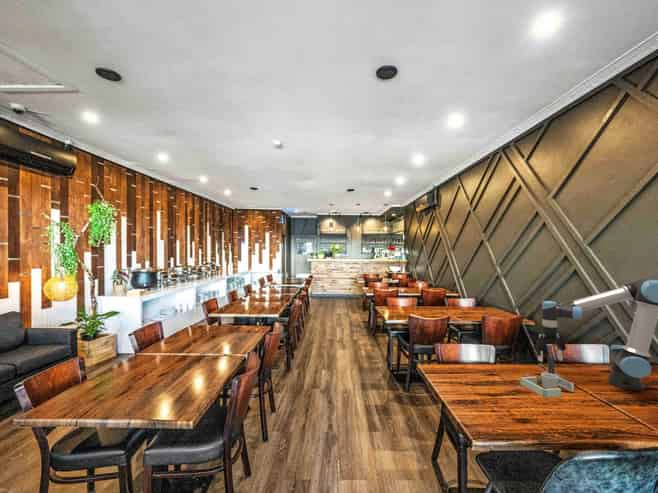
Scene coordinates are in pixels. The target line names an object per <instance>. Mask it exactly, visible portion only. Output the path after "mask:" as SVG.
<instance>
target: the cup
mask: <svg viewBox="0 0 658 493" xmlns="http://www.w3.org/2000/svg"><path fill="white" fill-rule="evenodd" d="M540 377H541V378H542V384H541V385H542V388H543V389H555V388H558V387H561V385H562V383H563V381H562V379H561V378H559V377H558V376H556V375H554V374H551V373H542V372H541V373H540ZM559 379H560V384H558V380H559Z"/></svg>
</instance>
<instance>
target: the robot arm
mask: <svg viewBox="0 0 658 493" xmlns="http://www.w3.org/2000/svg"><path fill="white" fill-rule="evenodd" d="M624 301H635V303H636V304H637V306H636V309H635V314H634V318H633V321H632V324H631V328H630V331H629V334H628V338H627V341H626V344H625V345H623V344H611V345H610V349H609V351H610V366H611V367H610V368H611V369H610V371H609V375H608V377H607V382H608V383H609V384H610V385H611V386H614V387H616V388H620V389H623V390H624V389H625V390H629V391H645V384H644V383H643V382H642V378H646V377H648V376H649V375H650V374H651V373H652V366H651V364H650V363H651V359H652V355H651V354H650V353H649V350H650V347H651V343H652V340H653V337H654V334H655V330H656V326H657V323H658V279H651V278H642V279H638V280H635V281H632V282H629V283H626V284H622V285H621V287H619V288H615V289H611V290H608V291H607V290H606V291H603V292H600V293H596V294H593V295H592V294H591V295H589V296H586V297H582V298H578V299H575V300H572V301H568V302H567V301H566V302H561V303H559V304H558V302H556V301H553V300H543V301H542V302H541V320H542V322H541V324H542V327H541V330H542V334H541V333H538V335H537V336H538V337H537V339H536V342H535V343H534V346H533V349H534V350H536V351H537V352H536V356H537V360H538V362H541V363H542V362H544V361H543V360H544V358H543V355H544V354H543V353H544V351H543V349H544V347H545V346H546V344H548V343H551V342H553V343H554V344H555V346H556V347H557V360H558V361H561V362H563V361H564V360H563V359H564V358H563V356H564V351H565V350H567V346H566V344H565V341H564V340H563V338H562V334H560V333H558V318H559V319H571V320H582V319H583V315H584V314H583V313H584V312H585V311H590V310H593V309H598V308H602V307H604V306H609V305H610V306H611V305H614V304H616V303H621V302H624Z"/></svg>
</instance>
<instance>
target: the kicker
mask: <svg viewBox="0 0 658 493" xmlns="http://www.w3.org/2000/svg"><path fill="white" fill-rule="evenodd" d="M541 373H551V374H554V375H556V376H558V377H559V378H561V376H562V375H561V374H558V373H557V372H556V370H555V355H553V354H547V370H544V371H543V370H542V371H541ZM561 379H562V378H561ZM562 381H563V383H562V385H561V386H560V388H563V389H564V390H567V391H569V392H574V391H575V389H574V388H575V386H574V382H571V381H569V380H567V379H564V378H563V379H562ZM558 384H560V379H559V380H558Z"/></svg>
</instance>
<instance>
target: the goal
mask: <svg viewBox="0 0 658 493" xmlns="http://www.w3.org/2000/svg"><path fill="white" fill-rule="evenodd" d="M537 377H538V376H528V377H523V376H521V377H519V378H520V379H519V380H520V385H521V386H523V387H525V388H527V389H528V390H530V391H533V393H536V394H537V395H539V396H541V397H543V398H544V399H546V398H547V399H548V398H559V397H562V389H561V387H559V388H558V387H557V388H555V389H545V388H544V387H541V386H540V385H538V383H537Z"/></svg>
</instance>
